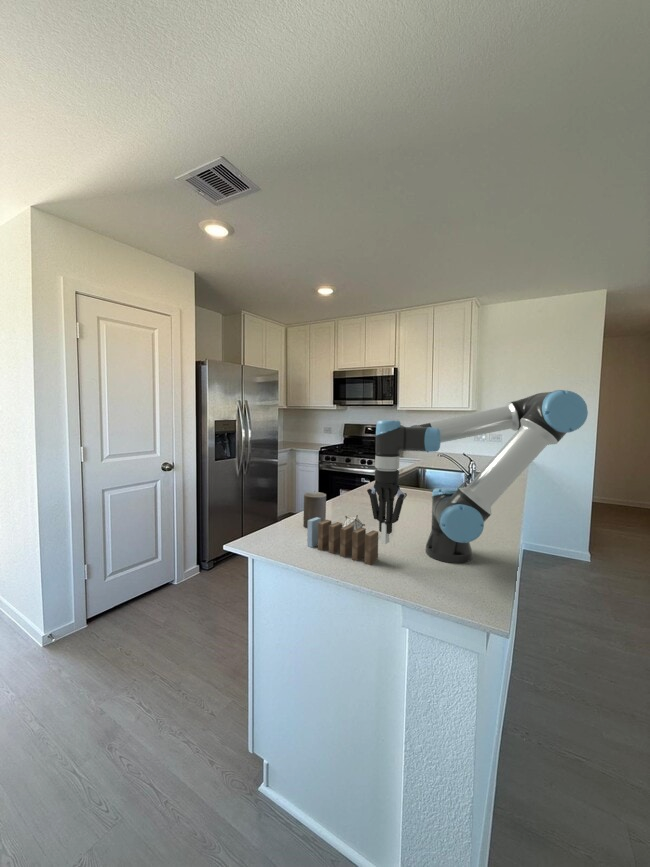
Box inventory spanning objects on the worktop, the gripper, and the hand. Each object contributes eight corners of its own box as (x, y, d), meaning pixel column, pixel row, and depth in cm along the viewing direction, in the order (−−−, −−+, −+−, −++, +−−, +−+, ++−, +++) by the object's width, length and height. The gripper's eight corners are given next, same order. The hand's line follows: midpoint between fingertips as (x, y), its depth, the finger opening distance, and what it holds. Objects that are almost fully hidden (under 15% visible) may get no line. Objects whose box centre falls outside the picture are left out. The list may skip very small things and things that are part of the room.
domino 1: (320, 543, 134) (320, 518, 133) (311, 547, 129) (311, 521, 129) (316, 542, 135) (316, 517, 134) (307, 546, 131) (307, 520, 130)
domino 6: (377, 559, 119) (378, 531, 119) (370, 565, 115) (370, 535, 114) (372, 558, 120) (373, 530, 120) (364, 563, 116) (365, 534, 116)
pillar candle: (300, 528, 151) (300, 492, 150) (306, 521, 161) (307, 488, 160) (322, 530, 149) (323, 494, 148) (328, 523, 158) (328, 489, 157)
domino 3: (341, 549, 128) (342, 523, 127) (333, 554, 124) (333, 526, 123) (337, 548, 129) (337, 522, 128) (328, 552, 125) (329, 525, 124)
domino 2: (330, 546, 131) (331, 520, 130) (322, 550, 126) (322, 524, 126) (326, 545, 132) (326, 519, 131) (317, 549, 128) (318, 522, 127)
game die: (356, 546, 141) (363, 531, 135) (336, 537, 142) (342, 522, 136) (362, 529, 148) (369, 514, 141) (343, 521, 149) (349, 506, 143)
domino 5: (365, 556, 122) (365, 528, 121) (357, 561, 118) (357, 532, 117) (360, 554, 123) (360, 527, 123) (352, 559, 119) (352, 531, 119)
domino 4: (353, 552, 125) (353, 525, 124) (345, 557, 121) (345, 529, 120) (348, 551, 126) (348, 524, 126) (340, 556, 122) (340, 528, 121)
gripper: (411, 469, 112) (409, 544, 113) (374, 465, 120) (372, 535, 121) (401, 472, 106) (399, 551, 107) (363, 468, 114) (361, 541, 115)
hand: (385, 542), depth 114 cm, fingers closed
